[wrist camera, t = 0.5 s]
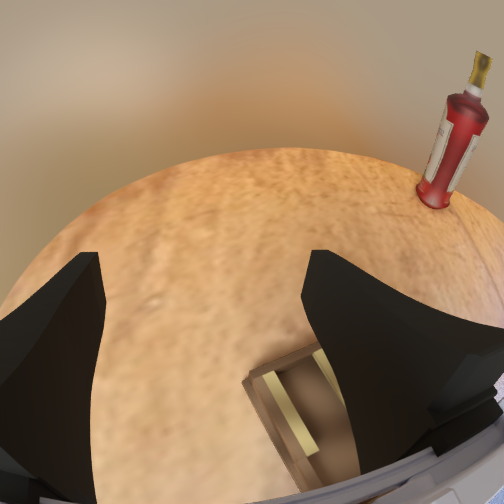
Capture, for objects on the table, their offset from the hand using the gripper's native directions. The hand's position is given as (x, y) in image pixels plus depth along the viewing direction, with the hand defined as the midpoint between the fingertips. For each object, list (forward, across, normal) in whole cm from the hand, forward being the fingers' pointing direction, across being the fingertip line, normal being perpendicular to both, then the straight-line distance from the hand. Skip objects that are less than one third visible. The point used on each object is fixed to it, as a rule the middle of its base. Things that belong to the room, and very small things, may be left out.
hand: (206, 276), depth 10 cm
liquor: (+30, -41, +7) cm, 52 cm away
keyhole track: (+2, -11, +19) cm, 22 cm away
